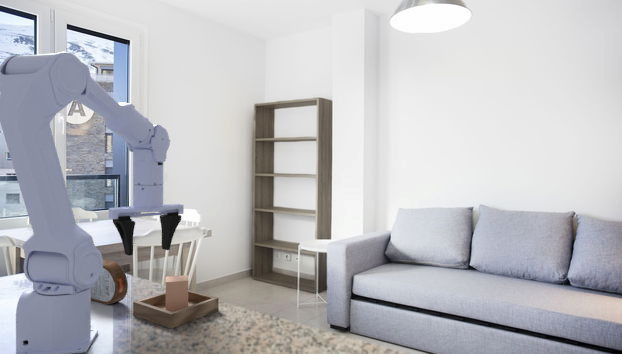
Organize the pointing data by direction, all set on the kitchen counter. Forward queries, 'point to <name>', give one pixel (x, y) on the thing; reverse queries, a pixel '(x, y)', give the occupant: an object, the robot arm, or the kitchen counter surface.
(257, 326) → the kitchen counter surface
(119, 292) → the tin
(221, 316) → the kitchen counter surface
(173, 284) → the block
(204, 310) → the tray
